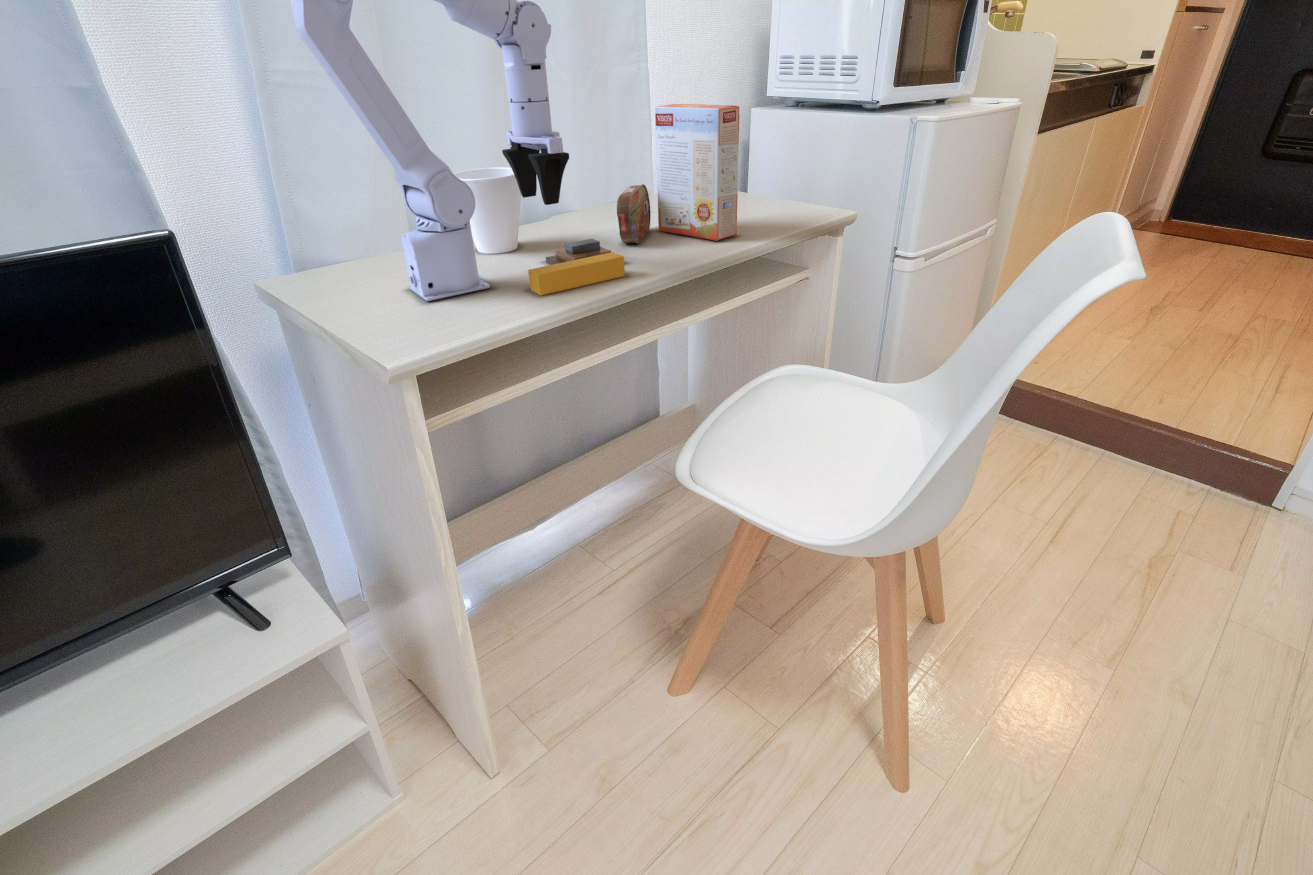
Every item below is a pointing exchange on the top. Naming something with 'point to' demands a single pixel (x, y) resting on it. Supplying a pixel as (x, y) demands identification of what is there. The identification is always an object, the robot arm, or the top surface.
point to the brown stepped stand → (577, 251)
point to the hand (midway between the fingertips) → (540, 200)
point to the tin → (633, 214)
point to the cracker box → (697, 169)
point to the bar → (576, 273)
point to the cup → (494, 208)
